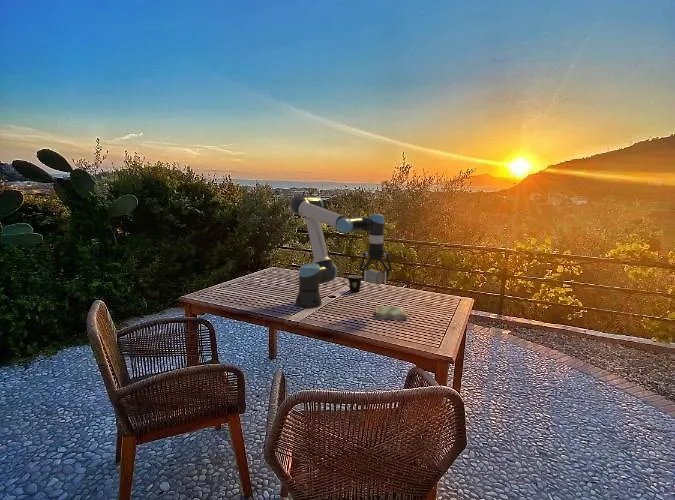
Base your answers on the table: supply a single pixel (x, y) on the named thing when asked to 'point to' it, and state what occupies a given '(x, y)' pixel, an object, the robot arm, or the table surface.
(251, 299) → the table surface
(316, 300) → the robot arm
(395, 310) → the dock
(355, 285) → the coffee mug
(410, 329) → the table surface
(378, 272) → the ceramic mug
